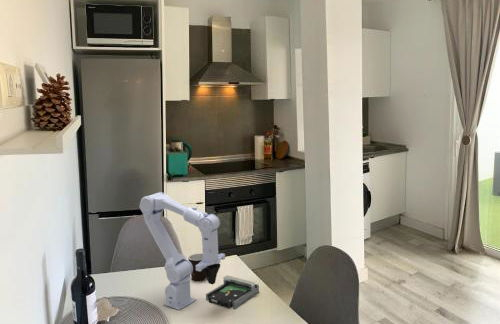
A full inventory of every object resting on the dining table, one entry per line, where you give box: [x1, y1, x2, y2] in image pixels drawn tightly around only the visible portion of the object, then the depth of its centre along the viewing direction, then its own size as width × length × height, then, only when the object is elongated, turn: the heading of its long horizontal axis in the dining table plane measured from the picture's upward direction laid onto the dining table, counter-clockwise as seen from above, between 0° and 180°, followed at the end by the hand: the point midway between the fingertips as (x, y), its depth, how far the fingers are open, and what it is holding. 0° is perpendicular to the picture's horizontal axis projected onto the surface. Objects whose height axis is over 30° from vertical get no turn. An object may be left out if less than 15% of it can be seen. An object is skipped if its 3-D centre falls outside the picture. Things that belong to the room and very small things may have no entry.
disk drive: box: [208, 284, 250, 309], centre depth 163 cm, size 10×3×15 cm
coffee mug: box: [187, 253, 207, 282], centre depth 183 cm, size 12×9×10 cm
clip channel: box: [205, 274, 260, 310], centre depth 164 cm, size 16×14×5 cm
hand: (211, 283), depth 153 cm, fingers closed
